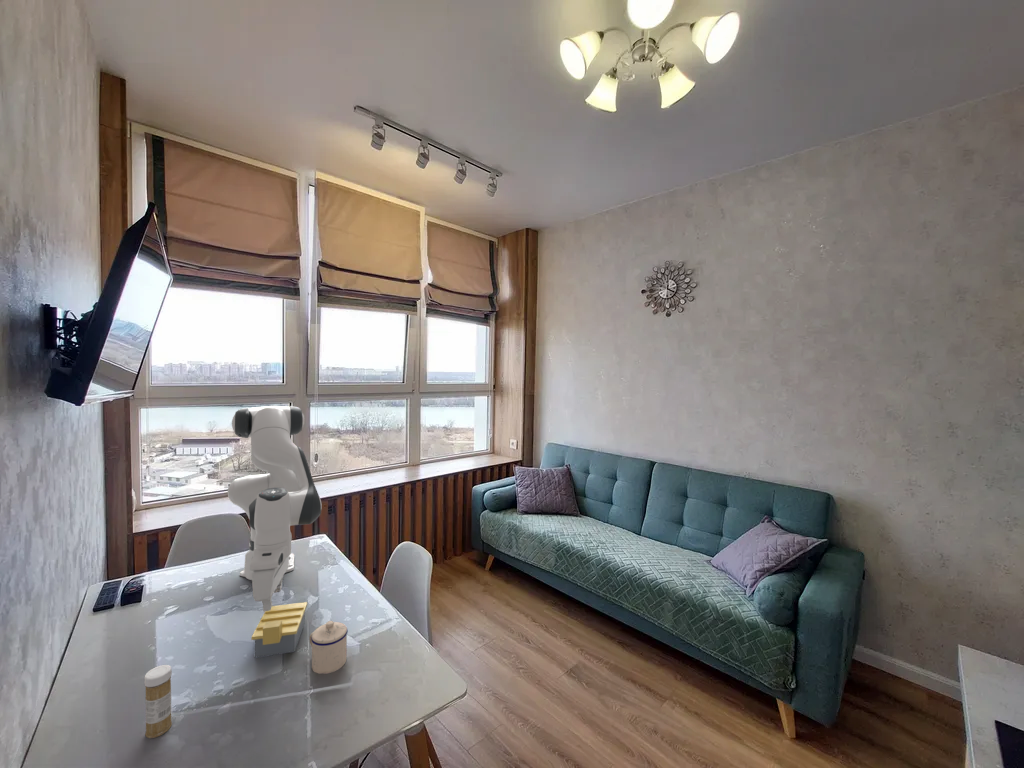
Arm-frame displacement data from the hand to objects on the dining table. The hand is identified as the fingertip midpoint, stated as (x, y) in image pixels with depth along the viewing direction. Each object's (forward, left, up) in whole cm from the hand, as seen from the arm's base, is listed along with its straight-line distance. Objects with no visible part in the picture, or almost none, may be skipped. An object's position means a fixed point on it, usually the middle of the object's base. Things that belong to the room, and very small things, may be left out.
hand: (272, 600), depth 113 cm
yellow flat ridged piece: (-8, 0, -11) cm, 14 cm away
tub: (-9, 0, -17) cm, 20 cm away
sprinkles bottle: (+18, -18, -18) cm, 31 cm away
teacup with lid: (+4, +14, -18) cm, 23 cm away
